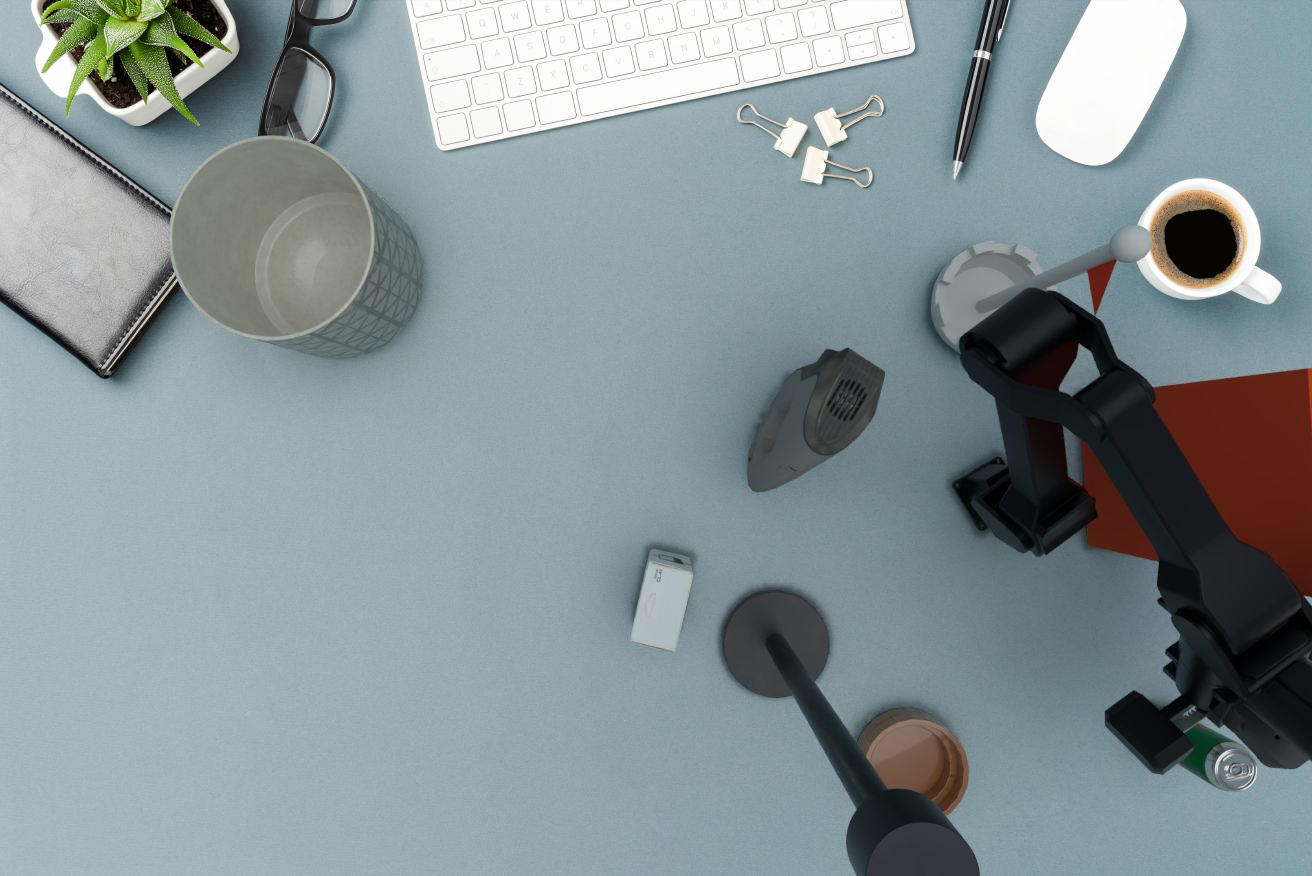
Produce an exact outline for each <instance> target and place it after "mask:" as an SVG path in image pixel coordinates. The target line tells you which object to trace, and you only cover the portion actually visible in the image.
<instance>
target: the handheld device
mask: <svg viewBox="0 0 1312 876" xmlns="http://www.w3.org/2000/svg"><path fill="white" fill-rule="evenodd" d="M885 377H886V371H885V370H884V369H883V368H881V367H879V366H877V365H876V364H874V363H873V362H872V361H870V360H868V359H867V358H865V357H864V356H862V355H861V354H859V353H857V352H856V351H855V350H853V349H852V348H850V347H848V346H847V347H845V348H843V349H841V350H836V349H832V348H825V350H824V351H823V352H822V353H821V355H820V356H819V358H818V359H817V360H816V361H815V362H812V363H810V364H806V365H803V366H801V367H799V368H797V369H796V370H794V371H793V372H792V373H791V374H790V376H789V377H788V378H787V379H786V380H785V382H784V383H783V385H782V386H781V388H780V389H779V391H778V392H777V394H776V396H775V397H774V399H773V401H772V402H771V404H770V406H769V407H768V409H767V411H766V413H765V415H764V417H763V419H762V421H761V423H760V425H759V426H758V429H757V430H756V433H755V435H754V437H753V439H752V442H751V443H750V447H749V450H748V456H747V467H746V477H747V485H748V487H749V488H750V490H751V491H752V492H753V493H765V492H768V491H771V490H775V489H777V488H780V487H781V486H784V485H786V484H788V483H790V482H792V481H795V480H796V479H798V478H800V477H801V476H803V475H805V474H806V473H808V472H809V471H811V470H813V469H815V468H816V467H818V466H819V465H821V464H823V463H824V462H826V461H828V460H829V459H830V458H833V457H834V456H836V455H837V454H839V453H840V452H842V451H843V450H845V449H846V448H847V447H849V446H850V445H851V444H852V443H854V442H855V441H856V440H857V439H858V438H859V437H860V436H861V434H863V432H864V431H865V430H866V429H867V427H869V425H870V423H871V422H872V420H873V419H874V417H875V415H876V412H877V408H878V405H879V400H880V397H881V394H882V389H883V386H884V383H885V382H884V381H885Z"/></svg>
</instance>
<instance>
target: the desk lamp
mask: <svg viewBox="0 0 1312 876" xmlns="http://www.w3.org/2000/svg"><path fill="white" fill-rule="evenodd" d="M826 625H827V624H826V623H825V621H824V619H823V617H822V616H821V614H820V613H819V612H818V610H817V609H816V607H814V606H813V605H812V604H811V603H810V602H809V601H808V600H807V599H805V598H804V597H802V596H800V595H799V594H797V593H794V592H791V591H788V590H785V589H784V590H783V589H766V590H761V591H758V592H755V593H753V594H751V595H748V596H747V597H745V598H744V599H742V600H741V601H740V602H739V603H738V604H737V605H736V606H735V607H734V608H733V610H732V611H731V612H730V614H729V616H728V617H727V619H726V622H725V625H724V627H723V632H722V651H723V655H724V659H725V662H726V665H727V667H728V670H729V671H730V672H731V674H732V676H733V677H734V678H735V680H737V682H738V683H739V684H740V685H741V686H742V687H744V688H745V689H746V690H748V691H750V692H751V693H754V694H755V695H758V696H762V697H765V698H770V699H771V698H773V699H779V698H787V697H788V698H789V697H791V696H792V697H793V698H794V700H795V703H796V704H797V705H798V707H799V709H800V711H801V712H802V715H803V716H804V718H805V720H806V722H807V724H808V725H809V727H810V730H812V733H813V734H814V737H815V738H816V740H817V742H818V743H819V745H820V747H821V749H822V750H823V752H824V754H825V756H826V757H827V759H828V761H829V763H830V764H831V766H832V768H833V770H834V772H835V774H836V775H837V777H838V779H839V781H840V783H841V784H842V786H843V788H844V789H845V791H846V793H847V795H848V796H849V799H850V800H851V802H852V804H853V806H854V807H855V811H854V813H853V814H852V816H851V819H850V821H849V823H848V825H847V829H846V835H845V837H846V838H845V847H846V853H847V857H848V860H849V863H850V866H851V867H852V870H853V871H854V873H855V875H856V876H981V870H980V866H979V862H978V860H977V857H976V855H975V853H974V851H973V848H972V847H971V846H970V845H969V843H968V842H967V841H966V839H965V838H964V837H963V836H962V834H961V833H960V832H959V831H958V829H957V828H956V827H955V825H954V824H953V823H952V822H951V821H950V819H949V817H947V816H946V815H945V814H944V813H943V812H942V810H941V809H940V808H939V807H938V806H937V805H936V804H935V803H934V802H933V801H932V800H931V799H929V798H928V797H926V796H925V795H923V794H921V793H919V792H916V791H913V790H909V789H899V788H897V789H888V788H887V786H886V785H885V783H884V782H883V781H882V779H881V778H880V776H879V775H878V773H877V772H876V770H875V769H874V767H873V766H872V765H871V763H870V762H869V760H868V759H867V757H866V756H865V754H864V753H863V751H862V750H861V749H860V747H859V746H858V744H857V743H858V742H856V740H855V738H854V737H853V735H852V734H851V732H850V731H849V730H848V728H847V727H846V725H845V724H844V722H843V720H841V717H840V716H839V715H838V713H837V711H836V710H835V709H834V708H833V706H832V705H831V703H830V702H829V700H828V699H827V697H826V696H825V694H824V693H823V691H822V690H821V689H820V686H818V684H817V683H816V681H817V679H818V678H819V677H820V676H821V674H822V672H823V671H824V668H825V667H826V665H827V661H828V659H829V654H830V653H829V652H830V637H829V631H828V628H827V626H826Z"/></svg>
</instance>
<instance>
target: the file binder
mask: <svg viewBox="0 0 1312 876" xmlns="http://www.w3.org/2000/svg"><path fill="white" fill-rule="evenodd" d="M1152 387H1153V389H1154V392H1155V394H1156V401H1155V402H1154V404H1153V406H1154V407H1155V409H1156V410H1157V412H1158V414H1159V415H1160V417H1161V419H1162V420H1163V422H1164V423H1165V425H1166V427H1167V428H1168V430H1169V432H1170V433H1171V435H1172V436H1173V438H1174V440H1175V441H1176V443H1177V445H1178V446H1179V448H1180V449H1181V451H1182V453H1183V454H1184V456H1185V458H1186V459H1187V461H1188V462H1189V464H1190V466H1191V467H1192V469H1193V471H1194V472H1195V474H1196V475H1197V477H1198V479H1199V480H1200V482H1201V484H1202V485H1203V487H1204V488H1205V490H1206V492H1207V493H1208V495H1209V497H1210V498H1211V500H1212V501H1213V503H1214V505H1215V506H1216V508H1217V510H1218V511H1219V513H1220V514H1221V516H1222V518H1223V519H1224V521H1225V523H1226V524H1227V526H1228V527H1229V529H1230V530H1231V531H1232V532H1233V534H1234V535H1235V536H1236V538H1237V539H1238V540H1240V541H1242V542H1244V543H1247V544H1249V545H1251V546H1253V547H1256V548H1258V549H1260V550H1262V551H1265V552H1266V553H1268V554H1269V555H1270V556H1271V558H1272V559H1273V560H1274V562H1275V563H1276V564H1278V565H1279V566H1280V567H1281V568H1282V569H1283V570H1284V571H1285V572H1286V574H1287V575H1288V576H1289V577H1290V578H1291V580H1292V581H1293V582H1294V584H1295V585H1296V586H1297V588H1298V589H1299V590H1300V591H1301V593H1302V594H1303V595H1304V597H1307V598H1312V367H1307V368H1298V369H1291V370H1281V371H1275V372H1266V373H1257V374H1250V375H1249V374H1247V375H1241V376H1233V377H1225V378H1224V377H1223V378H1216V379H1208V380H1199V381H1191V382H1184V383H1183V382H1182V383H1174V384H1167V385H1158V386H1152ZM1081 450H1082V466H1083V468H1082V469H1083V484H1084V485H1083V487H1084V488H1085V489H1086V490H1087V491H1088V494H1089V495H1091V496H1092V497H1094V498H1096V502H1095V508H1096V511H1097V514H1098V516H1099V517H1098V518H1096V519H1095V520H1094V521H1092V522H1091V523H1090V524H1088V525H1087V526H1086V535H1087V546H1088V547H1091V548H1092V547H1093V548H1096V549H1100V550H1101V549H1102V550H1106V551H1109V552H1112V553H1113V552H1114V553H1118V554H1123V555H1127V556H1131V557H1135V558H1140V559H1144V560H1148V561H1153V562H1156V563H1159V558H1158V556H1157V554H1156V552H1155V550H1154V548H1153V546H1152V544H1151V543H1150V541H1149V540H1148V538H1147V537H1146V535H1145V533H1144V532H1143V530H1142V529H1141V527H1140V525H1139V524H1138V522H1137V521H1136V519H1135V518H1134V516H1133V514H1132V513H1131V511H1130V510H1129V508H1128V507H1127V505H1126V503H1125V502H1124V500H1123V499H1122V497H1121V496H1120V494H1119V492H1118V491H1117V489H1116V488H1115V486H1114V485H1113V483H1112V481H1111V480H1110V478H1109V477H1108V475H1107V474H1106V472H1105V470H1104V469H1103V467H1102V466H1101V464H1100V462H1099V461H1098V459H1097V458H1096V456H1095V455H1094V453H1093V451H1092V450H1091V448H1090V447H1089V445H1088V444H1087V443H1085V442H1084V441H1082V440H1081Z"/></svg>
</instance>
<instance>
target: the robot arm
mask: <svg viewBox="0 0 1312 876" xmlns="http://www.w3.org/2000/svg"><path fill="white" fill-rule="evenodd" d="M1079 346H1082V347H1083V348H1085V349H1087V351H1089V352H1090V353H1091V356H1092V358H1093V361H1094V363H1095V366H1096V369H1097V371H1098V374H1099V376H1098V377H1096V378H1095V379H1093V380H1092V381H1091V382H1089V383H1088V384H1086V385H1085V386H1084V387H1083V388H1081V389H1080V390H1079V391H1077V392H1076V393H1075V394H1073V395H1070V394H1069V393H1068V392H1067V393H1066V392H1065V391H1061V390H1060V386H1061V384H1062V383H1063V381H1064V380H1065V378H1066V376H1067V375H1068V373H1069V371H1070V370H1071V367H1072V366H1073V364H1074V363H1075V361H1076V360H1077V357H1078V354H1079ZM959 350H960V353H961V354H960V353H959V354H960V355H959V360H960V364H961V366H962V368H963V369H964V371H965V372H966V374H967V375H968V378H969V379H970V380H971V381H972V382H974V383H975V384H977V385H978V386H979V387H981V388H982V389H983V390H984V391H986V392H987V393H988V394H989V395H990V396H992V397H993V398H994V402H995V407H996V411H997V417H998V422H999V428H1000V433H1001V438H1002V442H1003V447H1004V453H1005V456H1006V457H1005V458H1006V462H1007V464H1006V462H1005V459H1003V458H1002V457H1001V456H994V457H993V458H992V459H991V458H990V460H988V461H987V462H985V463H983V464H981V465H980V466H978V467H977V468H974V469H973V470H972V471H969V472H968V473H966V474H965V475H963V476H962V477H959V478H958V479H956V480H955V481H953V482H952V484H951V487H952V489H953V491H954V492H955V494H956V496H957V497H958V499H959V501H960V503H961V504H962V505H963V508H964V509H965V510H966V512H967V514H968V515H969V517H970V519H971V521H972V523H973V524H974V526H975V527H976V529H977V530H978V531H979V532H984V531H987V530H990V532H991V533H992V535H993V536H994V537H995V538H996V539H998V540H1000V541H1001V542H1003V543H1004V544H1006V545H1008V546H1009V547H1011V548H1012V549H1013V550H1015V551H1017V552H1019V553H1020V554H1023V555H1024V554H1026V553H1028V552H1029V551H1030V552H1031V553H1032V554H1033V555H1034V556H1035V558H1041V557H1042V556H1043V555H1044V556H1048V555H1049V554H1050V553H1051V552H1053V551H1055V550H1056V549H1057V548H1058V547H1060V546H1061V545H1063V544H1064V543H1066V541H1068V540H1069V539H1071V538H1072V537H1073V536H1075V535H1076V534H1077V533H1079V532H1081V530H1083V529H1084V528H1087V525H1088V524H1090V523H1091V522H1092V521H1094V520H1095V519H1096V518H1098V517H1099V516H1098V514H1097V511H1096V508H1095V502H1096V498H1094V497H1092V496H1091V495H1089V494H1088V491H1087V490H1086V489H1085V486H1084V485H1082V484H1080V482H1078V481H1076V480H1074V479H1073V478H1072V477H1071V476H1070V475H1069V470H1068V460H1067V459H1068V458H1067V452H1066V441H1065V431H1064V428H1065V429H1067V430H1068V431H1069V432H1070V433H1071V434H1073V436H1075V437H1077V439H1079V440H1081V442H1082V441H1084V442H1085V443H1087V444H1088V445H1089V447H1090V448H1091V450H1092V451H1093V453H1094V455H1095V456H1096V458H1097V459H1098V461H1099V462H1100V464H1101V466H1102V467H1103V469H1104V470H1105V472H1106V474H1107V475H1108V477H1109V478H1110V480H1111V481H1112V483H1113V485H1114V486H1115V488H1116V489H1117V491H1118V492H1119V494H1120V496H1121V497H1122V499H1123V500H1124V502H1125V503H1126V505H1127V507H1128V508H1129V510H1130V511H1131V513H1132V514H1133V516H1134V518H1135V519H1136V521H1137V522H1138V524H1139V525H1140V527H1141V529H1142V530H1143V532H1144V533H1145V535H1146V537H1147V538H1148V540H1149V541H1150V543H1151V544H1152V546H1153V548H1154V550H1155V552H1156V554H1157V556H1158V558H1159V562H1158V563H1157V564H1158V565H1157V576H1156V588H1157V590H1158V592H1159V594H1160V597H1158V598H1157V601H1156V602H1157V604H1158V605H1159V606H1160V607H1162V608H1163V609H1164V610H1165V611H1166V612H1168V614H1170V615H1171V616H1170V621H1171V623H1172V625H1173V627H1174V628H1175V629H1176V631H1177V632H1178V634H1179V638H1178V639H1177V641H1175V642H1173V643H1172V644H1171V645H1169V647H1166V648H1165V650H1164V655H1165V656H1166V657H1168V658H1169V659H1170V660H1171V661H1169V662H1168V663H1167V664H1165V665H1164V666H1163V667H1162V673H1163V674H1165V675H1166V676H1167V677H1168V678H1170V679H1171V680H1172V681H1173V682H1174V683H1175V687H1176V689H1177V691H1178V692H1179V694H1180V695H1178V696H1177V697H1176V698H1175V699H1173V700H1172V701H1171V702H1170V703H1168V704H1166V705H1165V706H1163V707H1164V708H1163V709H1161V710H1159V709H1158V708H1157V707H1158V706H1156V705H1154V704H1153V702H1152V701H1150V699H1148V698H1147V697H1146V696H1145V695H1144V694H1143V693H1140V692H1139V691H1137V690H1135V689H1133V690H1131V691H1129V692H1128V693H1127V694H1126V695H1125V696H1123V697H1121V698H1120V699H1119V700H1118V701H1116V702H1115V703H1114V704H1112V705H1111V706H1109V707H1108V708H1107V709H1105V710H1104V727H1105V728H1106V729H1107V730H1108V731H1109V732H1110V733H1111V734H1112V735H1113V736H1114V737H1115V738H1116V739H1117V740H1118V741H1119V742H1120V744H1122V745H1123V746H1124V747H1125V748H1126V749H1127V750H1128V751H1129V752H1130V753H1131V754H1132V755H1133V756H1134V757H1135V758H1136V759H1137V760H1138V761H1139V762H1140V763H1141V764H1142V765H1143V766H1144V767H1145V768H1146V769H1147V770H1148V771H1149V772H1150V773H1151V774H1155V775H1161V776H1163V775H1164V774H1166V773H1167V772H1169V771H1170V770H1171V769H1173V768H1174V767H1176V766H1177V765H1178V763H1179V762H1181V761H1182V760H1184V759H1185V758H1186V757H1187V756H1189V755H1190V754H1191V753H1193V752H1194V751H1193V750H1194V745H1193V744H1192V743H1191V741H1190V740H1189V738H1188V737H1187V736H1186V734H1185V732H1186V731H1188V730H1189V729H1191V728H1192V727H1193V726H1195V725H1196V724H1197V723H1200V722H1202V721H1203V720H1204V719H1205V718H1207V719H1208V720H1209V721H1210V722H1211V723H1212V724H1213V725H1214V726H1216V727H1217V728H1218V729H1221V728H1222V727H1224V726H1225V727H1226V728H1227V729H1228V730H1229V731H1231V732H1232V733H1233V734H1234V735H1235V736H1236V737H1237V738H1238V739H1239V740H1240V741H1241V742H1242V743H1243V744H1244V745H1245V746H1246V748H1247V749H1249V750H1250V752H1251V753H1252V754H1253V755H1254V756H1255V758H1256V759H1257V760H1258V761H1259V762H1260V763H1261V764H1262V765H1263V766H1265V767H1267V768H1269V769H1270V768H1271V769H1281V770H1296V769H1299V768H1300V767H1301V766H1303V765H1304V764H1305V763H1307V762H1308V761H1310V762H1311V763H1312V604H1311V603H1310V601H1309V600H1308V599H1307V598H1306V596H1304V595H1303V594H1302V593H1301V591H1300V590H1299V589H1298V588H1297V586H1296V585H1295V584H1294V582H1293V581H1292V580H1291V578H1290V577H1289V576H1288V575H1287V574H1286V572H1285V571H1284V570H1283V569H1282V568H1281V567H1280V566H1279V565H1278V564H1276V563H1275V562H1274V560H1273V559H1272V558H1271V556H1270V555H1269V554H1268V553H1266V552H1265V551H1262V550H1260V549H1258V548H1256V547H1253V546H1251V545H1249V544H1247V543H1244V542H1242V541H1240V540H1238V539H1237V538H1236V536H1235V535H1234V534H1233V532H1232V531H1231V530H1230V529H1229V527H1228V526H1227V524H1226V523H1225V521H1224V519H1223V518H1222V516H1221V514H1220V513H1219V511H1218V510H1217V508H1216V506H1215V505H1214V503H1213V501H1212V500H1211V498H1210V497H1209V495H1208V493H1207V492H1206V490H1205V488H1204V487H1203V485H1202V484H1201V482H1200V480H1199V479H1198V477H1197V475H1196V474H1195V472H1194V471H1193V469H1192V467H1191V466H1190V464H1189V462H1188V461H1187V459H1186V458H1185V456H1184V454H1183V453H1182V451H1181V449H1180V448H1179V446H1178V445H1177V443H1176V441H1175V440H1174V438H1173V436H1172V435H1171V433H1170V432H1169V430H1168V428H1167V427H1166V425H1165V423H1164V422H1163V420H1162V419H1161V417H1160V415H1159V414H1158V412H1157V410H1156V409H1155V407H1154V406H1153V404H1154V402H1155V401H1156V394H1155V392H1154V389H1153V387H1154V386H1152V384H1151V383H1150V381H1149V380H1148V379H1147V378H1146V377H1144V375H1142V374H1141V373H1140V372H1139V371H1138V370H1136V369H1134V368H1133V367H1131V366H1130V365H1129V364H1127V363H1125V362H1124V361H1123V360H1121V359H1120V358H1119V357H1118V355H1117V353H1116V350H1115V348H1114V345H1113V343H1112V341H1111V339H1110V336H1109V333H1108V330H1107V329H1106V326H1105V324H1104V322H1103V321H1102V320H1101V319H1100V318H1099V317H1097V316H1095V315H1094V314H1093V313H1091V312H1089V311H1088V310H1087V309H1086V308H1085V309H1084V308H1083V307H1082V306H1080V305H1078V304H1077V303H1076V302H1074V301H1073V300H1071V299H1070V298H1068V297H1067V296H1065V295H1064V294H1063V293H1060V292H1059V291H1057V292H1056V291H1053V290H1048V291H1046V292H1045V291H1043V290H1041V289H1038V288H1027V289H1025V290H1023V291H1022V292H1020V293H1019V294H1018V295H1016V296H1015V297H1013V298H1012V299H1011V300H1009V301H1008V302H1007V303H1005V304H1004V305H1003V306H1001V307H1000V308H998V309H997V310H996V311H994V312H993V313H992V314H990V315H989V316H988V317H986V318H985V319H983V320H982V321H981V322H979V323H978V324H977V325H975V326H974V327H972V328H971V329H970V330H968V331H967V332H966V333H964V334H963V335H962V336H961V337H960V339H959ZM998 461H999V462H998ZM957 484H958V486H957ZM981 526H982V528H981ZM1193 708H1194V709H1193ZM1190 710H1191V711H1190ZM1186 713H1187V714H1186ZM1182 715H1184V717H1185V719H1184V718H1182V717H1181V721H1182V722H1181V721H1179V720H1177V723H1178V724H1177V723H1173V721H1175V720H1176V719H1178V718H1179V717H1180V716H1182Z"/></svg>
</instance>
